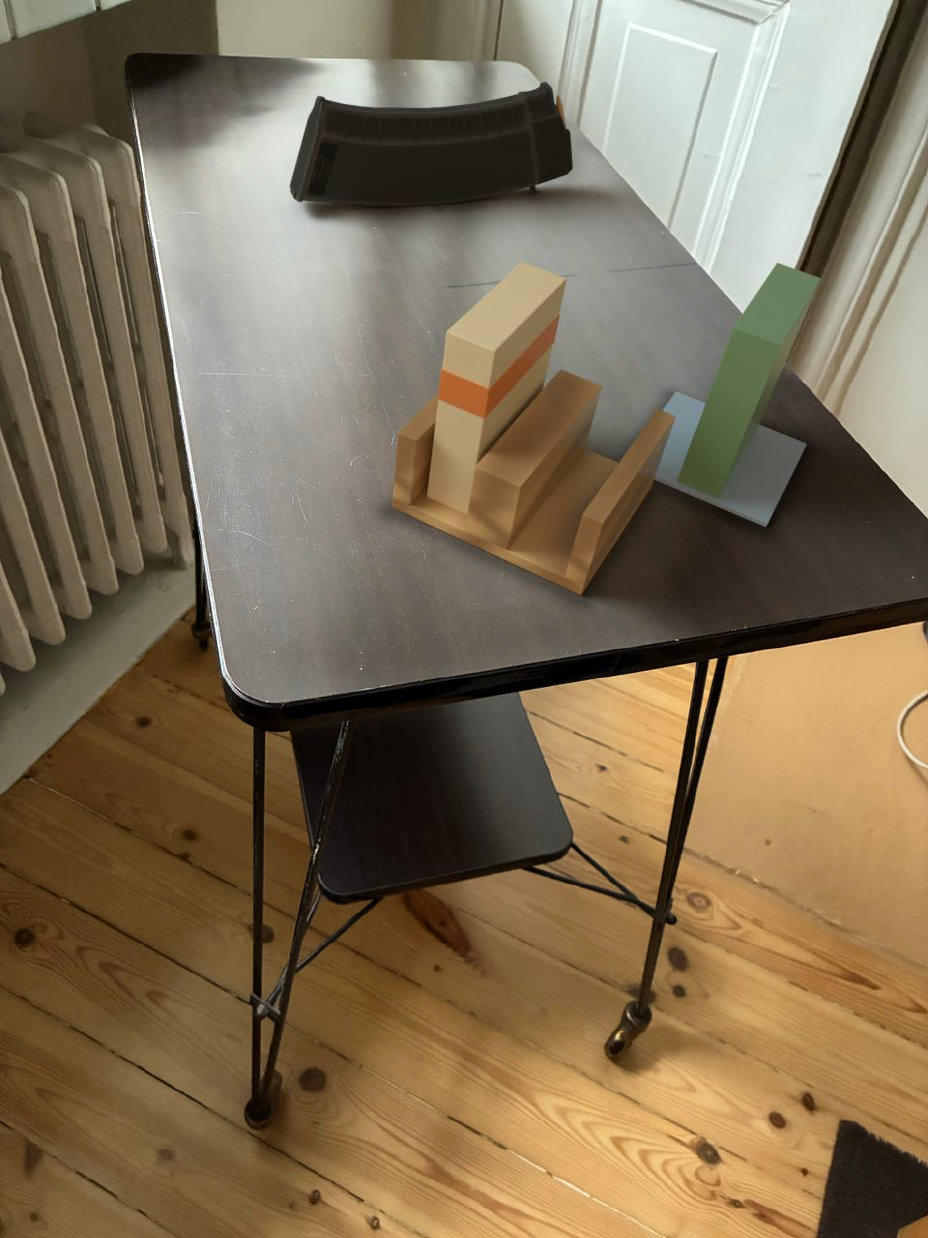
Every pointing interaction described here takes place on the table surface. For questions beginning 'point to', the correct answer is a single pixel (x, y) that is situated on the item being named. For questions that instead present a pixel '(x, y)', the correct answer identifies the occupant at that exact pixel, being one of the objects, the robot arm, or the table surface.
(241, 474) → the table surface
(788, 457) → the felt pad
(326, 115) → the magazine
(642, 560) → the table surface
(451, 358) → the cream book
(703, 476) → the green book
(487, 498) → the book rack
